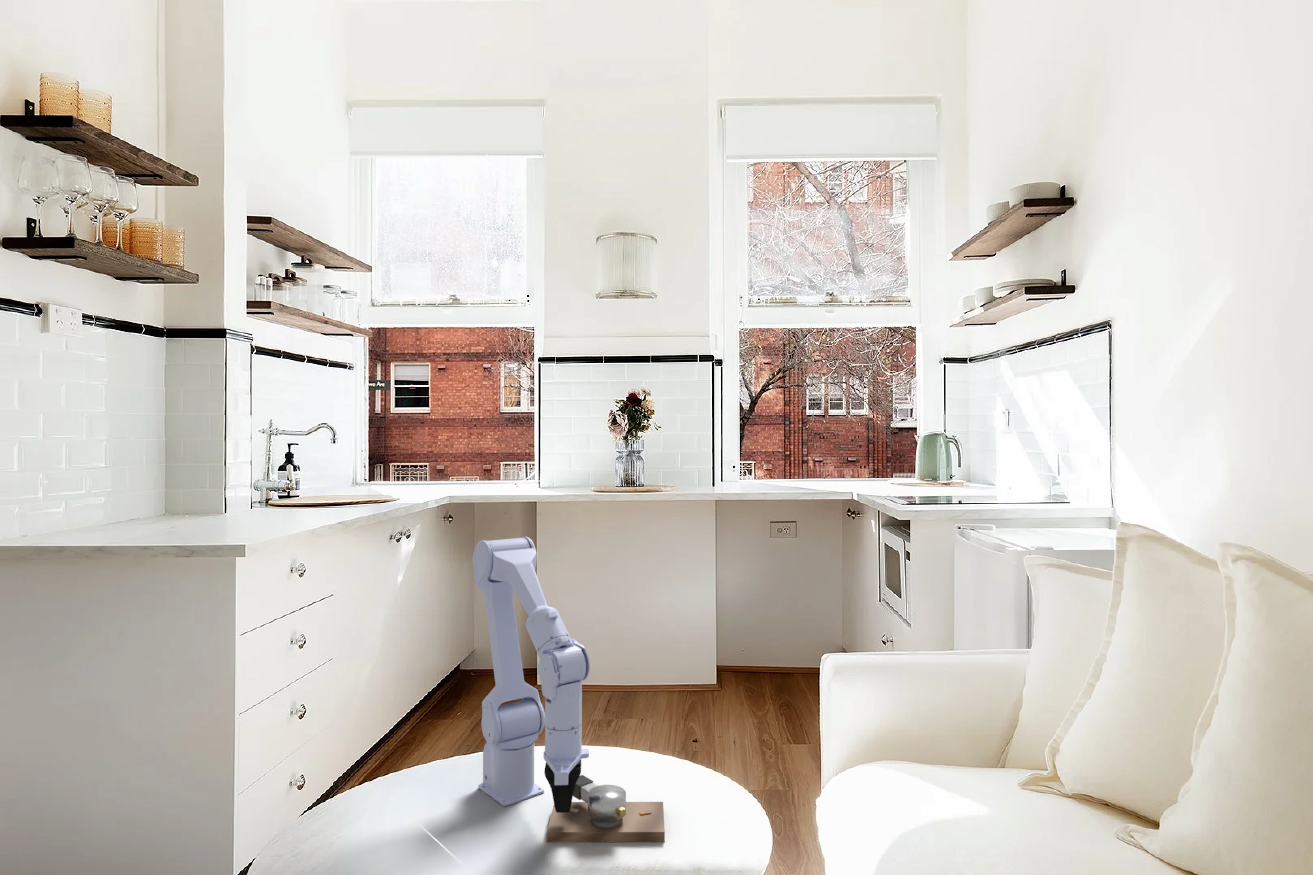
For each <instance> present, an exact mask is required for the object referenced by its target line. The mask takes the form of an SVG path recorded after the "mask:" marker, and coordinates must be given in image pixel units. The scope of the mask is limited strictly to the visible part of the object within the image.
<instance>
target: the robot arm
mask: <svg viewBox="0 0 1313 875" xmlns="http://www.w3.org/2000/svg"><path fill="white" fill-rule="evenodd" d="M537 554H538V553H537V549H536V546H535V544H534V542H533V540H532V539H531V538H530V537H528V536H522V537H515V538H504V539H494V540H493V539H491V540H484V539H483V540H479V541H478V542H477V543H476V546H475V547H474V550H473V554H472V566H473V576H474V582H475V587H476V589H477V590H480V591H482V592H483V597H484V604H485V605H484V606H485V612H486V618H487V627H488V636H489V643H490V650H491V661H492V667H493V668H492V669H493V675H494V676H493V677H494V682H495V685H494V687H493V688H492V689H491V690H490V691H489V693H488V694H487V695H486V696H485V698H484V699H483V700H482V702H481V711H482V714H481V722H480V723H481V724H480V725H481V732H482V735H483V738H484V740H485V741H486V742H485V744H484V747H483V750H482V783H481V782H480V783H479V784H478V786H477V788H478V789H480V790H481V791H482V792H483V793H485V794H487V795H488V796H489V797H490V798H492V799H493V800H494V801H496V802H497V803H499V804H500V805H502V806H503V807H509V806H511V805H514V804H516V803H520V802H522V801H525V800H528V799H530V798H533V797H537V796H539V795H541V794H543V793H544V792H545V789H544V788H542V787H541V786H540V785H538V784H536V783H535V742H536V741H538V740H539V735H540V734H541V733H542V732H543V730H544V751H543V760H544V761H545V766H544V776H545V779H546V781H547V782H548V784H549V787H550V790H551V795H552V799H553V806H555V810H556V812H557V813H563V812H569V811H570V808H571V803H572V802H573V797H574V796H573V791H574V787H575V784H576V782H577V780H578V778H579V776H581V775H582V774H581V773H582V759H588V758H590V756H589V755H590V750H589V749H588V748H582V738H583V737H582V733H583V732H582V727H583V726H582V724H583V722H582V721H583V719H582V717H583V711H582V710H583V709H582V708H583V681H585V680H587V678H588V676H589V674H590V668H591V667H590V658H589V655H588V653H587V650H586V648H585V646H584V645H582V643H579V642H578V641H577V640H576V638H572V637H571V636H570V633H569V631H568V629H567V627H566V625H565V623H564V621H563V619H562V616H561V615H560V612H559V610H558V609H557V608H555V607H554V606H553V607H552V606H549V605H548V602H547V600H546V597H545V593H544V591H543V588H542V585H541V583H540V580H539V578H538V575H537V573H536V567H537V562H538V560H537V559H538V555H537ZM514 593H515V595H516V596H517V598H518V600H519V602H520V603H521V606H522V607H523V609H524V611H525V613H526V614H527V616H528V617H527V619H526V621H525V628H526V630H527V633H528V635H529V637H530V640H531V642H532V644H533V646H534V648H535V651H536V653H537V655H538V658H539V662H538V663H537V669H538V670H537V671H538V675H539V679H540V682H541V693H542V696H543V697H544V699H545V700H544V706H543V704H542V702H541V699H540V694H539V690H538V689H537V688H535V687H534V686H532V685H530V684H529V683H528V682H526V681H525V676H524V669H523V660H522V654H521V646H520V641H519V632H518V624H517V618H516V612H515V610H516V609H515V603H514V596H513V594H514ZM520 699H521V700H520ZM515 700H519V701H515ZM511 701H515V702H511ZM505 702H509V703H506V704H504V703H505Z"/></svg>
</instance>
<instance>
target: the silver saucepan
mask: <svg viewBox="0 0 1313 875" xmlns="http://www.w3.org/2000/svg"><path fill="white" fill-rule="evenodd" d="M573 797H574V798H576V799H577V800H579V801H580V800H581V801H582V802H586V803H588V816H589V817H590V818H591V819H593V820H595V821H599V822H613V821H617V820H619V819H621V818H623V817H624V816H625V815H626V802H627V792H626V790H625V789H624V788H623V787H621V786H618V785H616V784H615V785H613V784H601V785H598V784H596V783H594V780H592V779H590V778H589V777H587V776H585V775H583V774H580V776H579V778H578V780H577V782H576V784H575V787H574V791H573Z"/></svg>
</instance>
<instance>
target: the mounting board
mask: <svg viewBox="0 0 1313 875" xmlns="http://www.w3.org/2000/svg"><path fill="white" fill-rule="evenodd" d="M664 810H665V809H664V801H626V815H625V816H624V817H623V818H621V819H619V820H617V821H613V822H599V821H595V820H593V819H591V818H590V817H589V816H588V803H586V802H584V801H572V803H571V808H570V811H569V812H563V813H557V812H556V810H555V806H554V805H553V806H552V810H551V813H550V819H549V823H548V826H547V830H546V843H630V842H631V843H643V842H645V843H646V842H647V843H652V842H653V843H654V842H655V843H658V842H659V843H660V842H661V843H664V842H665V836H666V835H665V832H666V831H665V817H664V816H665V815H664V814H665V812H664Z"/></svg>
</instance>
